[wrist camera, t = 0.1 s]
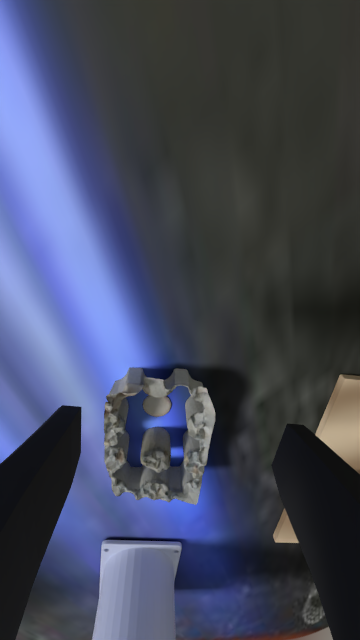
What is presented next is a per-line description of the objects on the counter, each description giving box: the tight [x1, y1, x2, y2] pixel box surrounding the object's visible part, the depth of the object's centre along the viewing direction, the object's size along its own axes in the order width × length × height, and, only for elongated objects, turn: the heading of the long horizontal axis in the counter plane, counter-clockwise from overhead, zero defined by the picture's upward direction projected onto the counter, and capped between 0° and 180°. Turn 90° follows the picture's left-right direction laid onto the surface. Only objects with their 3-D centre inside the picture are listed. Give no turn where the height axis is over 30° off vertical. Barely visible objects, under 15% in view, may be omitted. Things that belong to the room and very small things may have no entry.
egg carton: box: [104, 368, 215, 505], centre depth 20 cm, size 11×8×4 cm
